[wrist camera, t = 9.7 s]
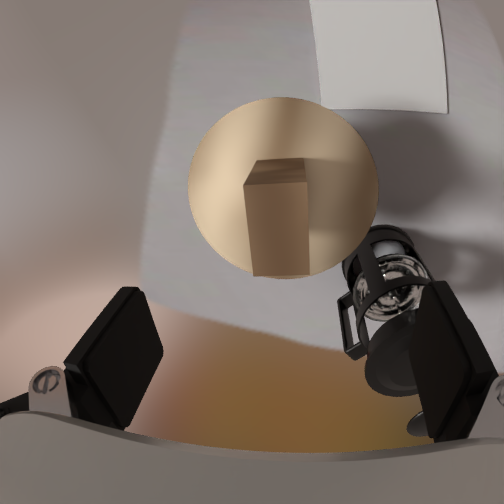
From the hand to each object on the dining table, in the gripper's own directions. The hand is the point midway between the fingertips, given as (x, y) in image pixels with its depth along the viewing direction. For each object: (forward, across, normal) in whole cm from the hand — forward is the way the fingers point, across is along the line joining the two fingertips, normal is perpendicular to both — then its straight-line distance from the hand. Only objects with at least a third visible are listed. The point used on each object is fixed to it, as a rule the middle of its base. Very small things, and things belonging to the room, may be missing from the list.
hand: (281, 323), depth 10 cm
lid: (+14, +1, 0) cm, 14 cm away
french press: (+26, -9, +13) cm, 31 cm away
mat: (+26, -10, -12) cm, 30 cm away
